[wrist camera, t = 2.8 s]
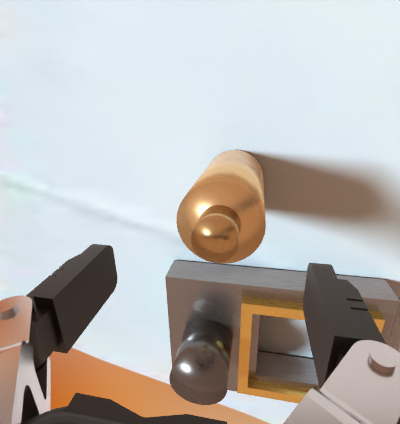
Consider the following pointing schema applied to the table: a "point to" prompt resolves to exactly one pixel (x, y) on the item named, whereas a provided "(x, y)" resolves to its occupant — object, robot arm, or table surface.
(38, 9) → the table surface
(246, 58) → the table surface
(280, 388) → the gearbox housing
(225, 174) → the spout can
